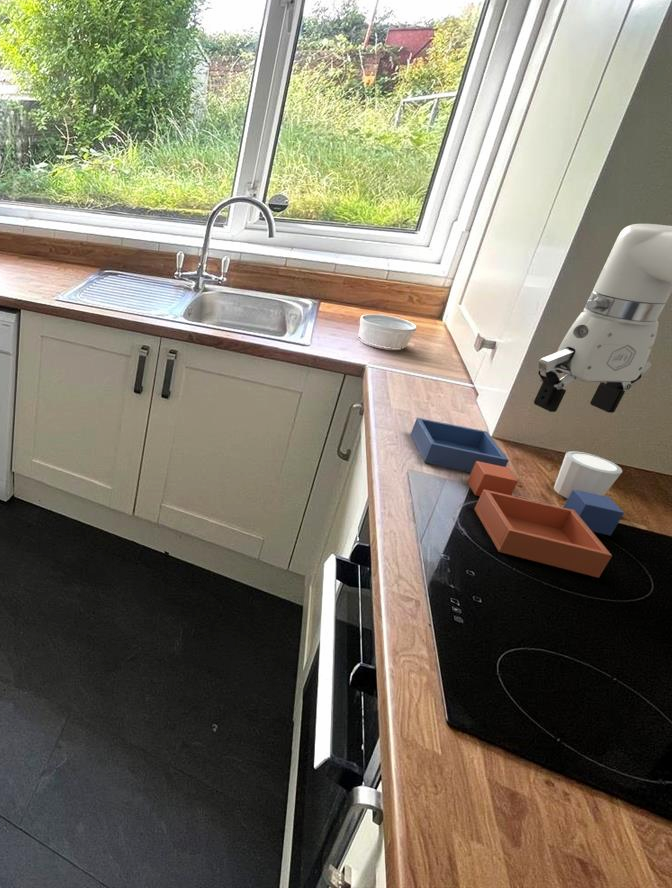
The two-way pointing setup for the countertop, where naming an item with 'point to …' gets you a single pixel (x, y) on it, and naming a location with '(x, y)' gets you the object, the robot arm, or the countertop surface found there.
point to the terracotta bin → (541, 533)
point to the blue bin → (455, 445)
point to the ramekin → (385, 331)
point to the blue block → (595, 511)
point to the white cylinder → (586, 474)
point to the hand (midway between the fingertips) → (572, 408)
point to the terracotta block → (491, 479)
